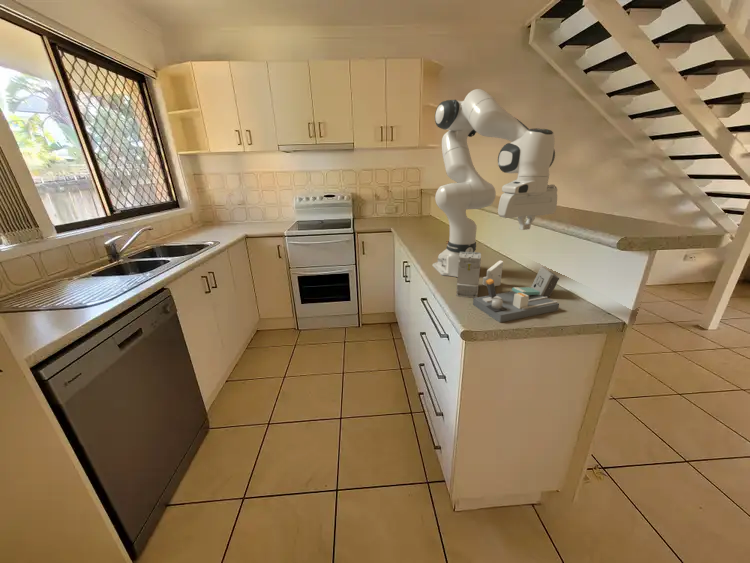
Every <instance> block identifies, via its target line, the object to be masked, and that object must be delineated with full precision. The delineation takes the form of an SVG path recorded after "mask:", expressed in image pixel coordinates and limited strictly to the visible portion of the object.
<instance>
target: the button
mask: <svg viewBox="0 0 750 563" xmlns="http://www.w3.org/2000/svg"><path fill="white" fill-rule="evenodd" d="M502 304H503V300H501V299H497V298H495V299H492V305H491V307H492V308H493V309H502Z"/></svg>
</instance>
